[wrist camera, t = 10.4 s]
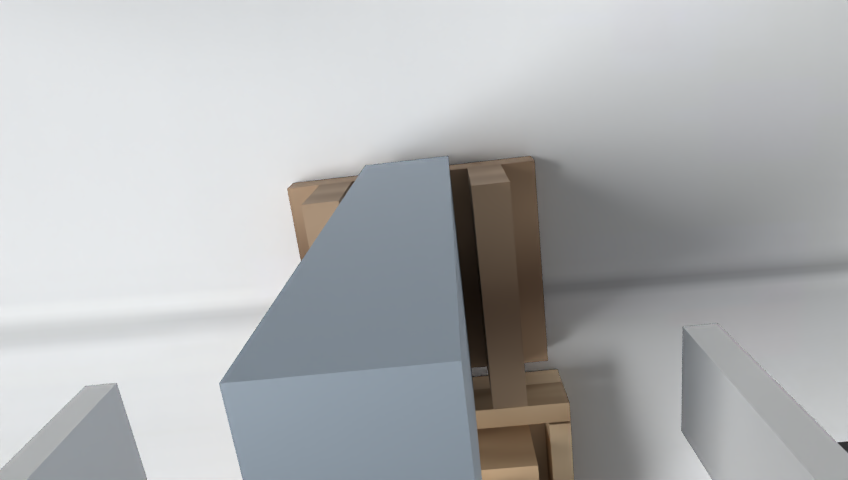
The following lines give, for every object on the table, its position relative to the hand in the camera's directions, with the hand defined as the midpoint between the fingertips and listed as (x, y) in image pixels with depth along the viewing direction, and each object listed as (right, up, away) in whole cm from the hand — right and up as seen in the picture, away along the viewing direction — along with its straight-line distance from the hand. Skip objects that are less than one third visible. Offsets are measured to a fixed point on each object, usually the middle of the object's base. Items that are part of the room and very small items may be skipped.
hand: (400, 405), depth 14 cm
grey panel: (0, +2, +9) cm, 9 cm away
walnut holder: (+1, +3, +10) cm, 10 cm away
